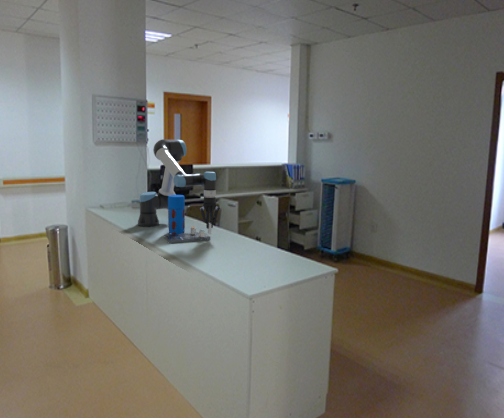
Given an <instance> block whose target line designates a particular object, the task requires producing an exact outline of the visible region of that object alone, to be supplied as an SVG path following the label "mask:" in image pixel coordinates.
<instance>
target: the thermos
mask: <svg viewBox="0 0 504 418" xmlns="http://www.w3.org/2000/svg"><path fill="white" fill-rule="evenodd" d="M185 199H186V197H185V195H183V194H176V195H169V196H168V209H167V210H168V211H167V213H168V215H167V216H168V217H167V219H168V221H167V222H168V224H167V225H168V234H169V235H171V234H184V233H185V229H186V223H185V221H186V218H185V216H186V215H185V212H186V209H185V206H186V205H185V202H186V201H185Z"/></svg>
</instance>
